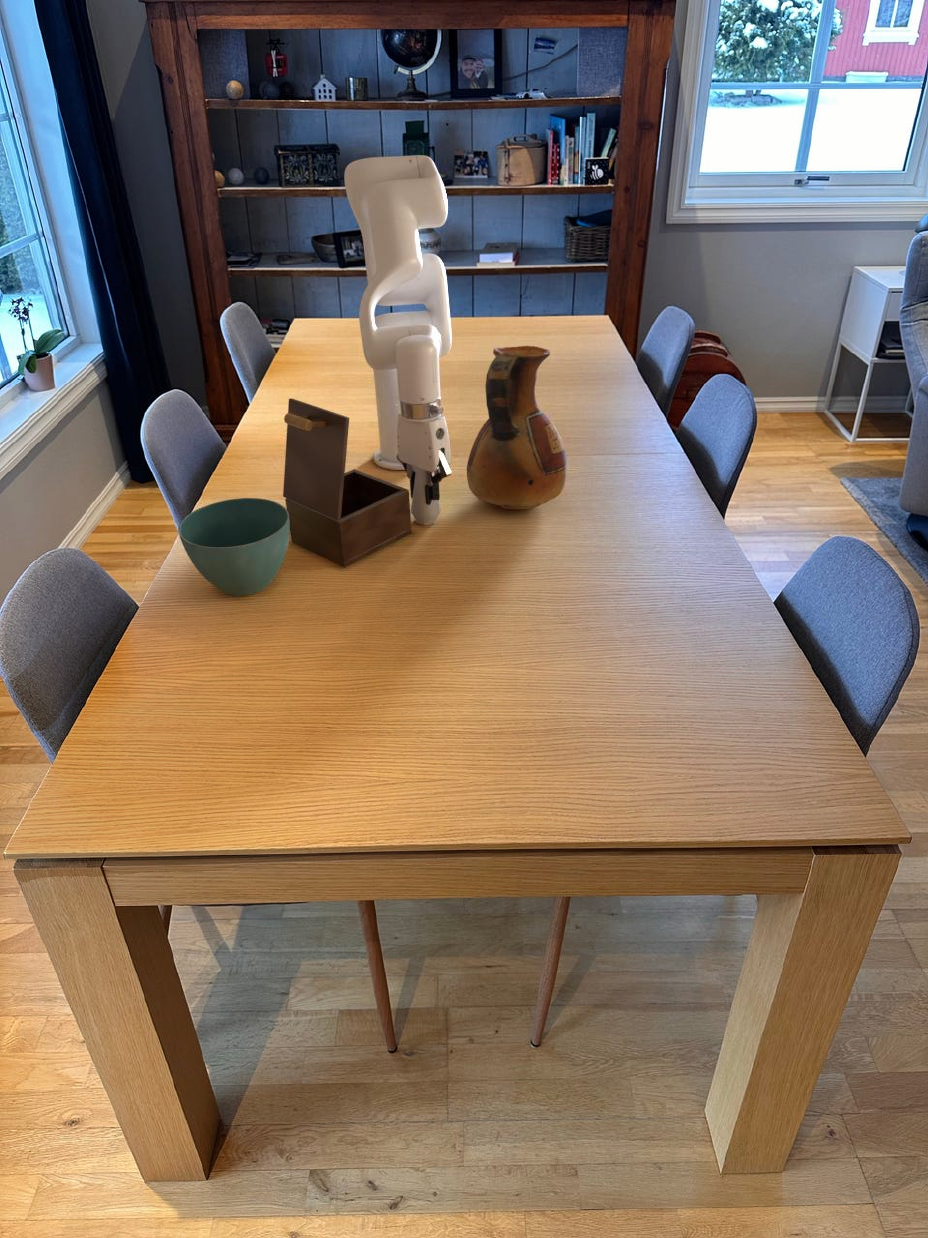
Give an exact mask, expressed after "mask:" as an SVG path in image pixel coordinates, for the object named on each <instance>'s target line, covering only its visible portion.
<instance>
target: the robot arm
mask: <svg viewBox="0 0 928 1238" xmlns="http://www.w3.org/2000/svg"><path fill="white" fill-rule="evenodd" d="M343 175H344V179H343V180H344V189H345V193H346V196H347V200H348V204H349V206H350V208H351V211H352V212H353V215H354V218H355V220H356V222H357V224H358V226H359V229H360V232H361V237H362V243H363V244H362V245H363V253H364V263H365V271H366V279H367V280H366V281H367V286H366V288H365V289H364V292H363V294H362V297H361V299H360V303H359V309H358V311H359V312H358V315H359V317H358V319H359V320H358V321H359V329H360V336H361V344H362V351H363V356H364V359H365V361H366V364H367V366H369V367H370V368H371V369H372V372H373V380H374V381H373V382H374V390H375V391H374V392H375V402H376V403H375V404H376V416H377V427H378V438H379V440H378V441H379V449H377V450H376V451H375V452H374V453H373V460H374V463H375V464H376V465H377V466H379V467H380V468H383V469H386V470H393V471H404V470H405V472H406V478H407V479H409V492H410V498H411V499H412V497H413V490H414V483H415V473H416V472H414V471H413V469H412V465H415V466H417V467H418V468H421V469H424V470H425V473H426V480H427V485H425V497H426V504H428V505H430V504H431V501H432V500H439V501H440V497H441V496H440V483H441V482H442V480H443V479H445V478H447V477H449V476H452V470H451V468H450V465H451V464H452V463H451V462H452V454H451V453H452V451H451V443H450V436H449V429H448V425H447V424H448V423H447V420H446V418H445V415H444V414H443V413H444V408H443V406H442V403H441V402H442V401H441V381H440V380H441V378H440V358H441V357H445V356H447V355H448V354H449V353H450V352H451V348H452V344H453V343H452V342H453V336H452V324H451V323H452V322H451V312H450V311H451V310H450V302H449V301H450V300H449V298H450V297H449V290H448V287H449V286H448V279H447V273H446V268H445V265H444V262H443V261H442V259H441V258H440V257H439V256H438V255H437V254H434V253H429V252H422V251H421V250H422V249H421V243H420V236H419V230H421V229H422V230H423V229H434V228H435V229H437V228H441V227H442V226H444V225H445V223H446V221H447V219H448V210H449V209H448V208H449V206H448V205H449V204H448V198H447V193H446V188H445V184H444V182H443V180H442V177H441V175H440V173H439V171H438V168H437V166H436V164H435V162H434V161H433V159H432V158H431V157H430V156H428V155H423V154H422V155H421V154H416V155H415V154H414V155H397V156H374V157H366V158H360V159H357V160H354V161H352V162H350V163H349V164H347V166H346V167H345V170H344V173H343ZM418 304H419V305H420V304H421V305H424V306H425V308H426V310H414V311H398V312H388V313H382V314H379V315H376V316H375V311H376V307H377V305H378V306H382V307H393V306H394V307H395V306H408V305H418ZM432 473H433V477H432Z"/></svg>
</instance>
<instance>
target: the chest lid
mask: <svg viewBox="0 0 928 1238" xmlns="http://www.w3.org/2000/svg"><path fill="white" fill-rule="evenodd" d="M287 405H288V406H287V413H286V414H285V415H284V418H283V420H284V423H286V439H285V440H286V442H285V457H284V472H283V473H284V474H283V488H282V489H283V492H282V497H283V498H284V499H286V498H287V499H289V500H292V501H294V502H296V503H298V504H301V505H303V506H305V507H307V508H310V509H312V510H314V511H317V512H319V513H321V514H323V515H326V516H328V517H330V518H333V519H335V520H337V521H338V520H341V510H342V498H343V486H344V475H345V473H346V461H347V451H348V438H349V427H350V417H349V416H345V415H342V414H340V413H337V412H334V411H331V410H328V409H324V408H322V407H319V406H316V405H312V404H310V403H307V402H305V401H301V400H298V399H295V398H288V404H287Z"/></svg>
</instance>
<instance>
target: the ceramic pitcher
mask: <svg viewBox="0 0 928 1238" xmlns="http://www.w3.org/2000/svg"><path fill="white" fill-rule="evenodd" d="M492 354H493V355H494V359H493V360H492V361H491V363H490V364H489V367H488V370H487V373H486V377H485V378H486V379H485V389H484V390H485V400H486V408H487V412H488V413H487V415H488V419H487V420H486V421H485V422H484V423H483V424H482V426H481V428H480V429H479V431H478V433H477V435H476V437H475V439H474V441H473V444H472V446H471V449H470V452H469V456H468V458H467V459H468V460H467V464H466V479H467V484H468V488H469V490H470V491H471V493H472V494H473V495H474V496H475V497H477V499H479V500H481V501H484V502H486V503H489V504H492V505H496V506H500V508H502V509H506V510H507V509H508V510H529V509H533V508H537V507H540V506H542V505H543V504H546V503H548V502H551V501H552V500H554V499H556V498H557V497H559V496H560V495H561V494H562V491H563V490H564V488H565V485H566V480H567V475H568V474H567V472H568V461H567V459H568V458H567V454H566V450H565V444H564V442H563V439H562V437H561V435H560V433H559V431H558V429H557V427H556V426H555V424H554V422H553V421H552V420H551V418H550V417H549V416H548V415H547V414H546V413H545V412H543V411H542V410H541V409H540V408H539V406H538V402H537V398H536V384H537V383H536V382H537V377H538V369H539V367H540V366H541V364H542V363H543V362H544V361H545V360H546V359H547V358H548V357H549V356H550V355H551V351H550V349H547V348H544V347H539V346H534V345H519V346H504V347H495V348H494V347H493V351H492Z"/></svg>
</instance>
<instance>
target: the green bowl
mask: <svg viewBox="0 0 928 1238" xmlns="http://www.w3.org/2000/svg"><path fill="white" fill-rule="evenodd" d="M177 531H178V535H179V539H180V541H181V544H182V546H183V548H184V551H185V553H186V555H187V557H188V558H189V560H190V562H191V564H193V566H194V567H195V569H196V570H197V571H198V572H199V574H200V575H201V576H202V577H203V578H204V579H205V580H206V581H208V582H209V583H210V585H212V586H214V587H215V588H217V589H219V591H222V592H223V593H225V594H227V595H229V596H235V597H246V596H252V595H254V594H257V593H260V592H262V591H264V590H265V589H266V588H267V587H269V585H270V584H272V582H273V580H275V578H276V576H277V575H278V573H279V572H280V570H281V568H282V566H283V563H284V561H285V558H286V555H287V553H288V552H287V551H288V547H289V542H290V521H289V513H288V511H287V508H286V506H284V505H282V504H280V503H279V502H277V501H274V500H270V499H265V498H259V497H240V498H239V497H238V498H232V499H226V500H225V499H224V500H220V501H217V502H213V503H209V504H207V505H205V506H201V507H199V508H197V509H195V510H194V511H191V512H190V513H188V515H186V516H185V517H184V518H183V519H182V520H181V521H180V523H179V525H178V529H177Z"/></svg>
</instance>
